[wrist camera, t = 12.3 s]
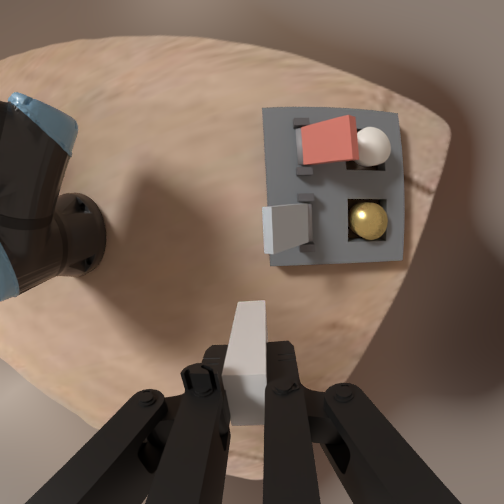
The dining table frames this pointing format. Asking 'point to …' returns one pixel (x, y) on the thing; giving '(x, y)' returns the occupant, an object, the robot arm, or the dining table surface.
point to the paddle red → (328, 141)
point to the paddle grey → (286, 226)
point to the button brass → (367, 220)
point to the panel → (333, 188)
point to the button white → (372, 147)
